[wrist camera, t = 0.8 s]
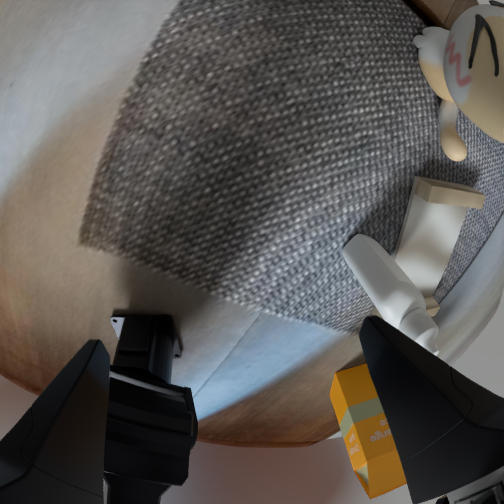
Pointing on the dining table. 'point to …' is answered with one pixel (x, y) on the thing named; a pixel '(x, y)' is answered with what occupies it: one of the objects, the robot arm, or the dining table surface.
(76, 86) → the dining table surface
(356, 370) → the orange juice
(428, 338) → the eye dropper bottle
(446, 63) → the kitten
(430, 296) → the u rest
